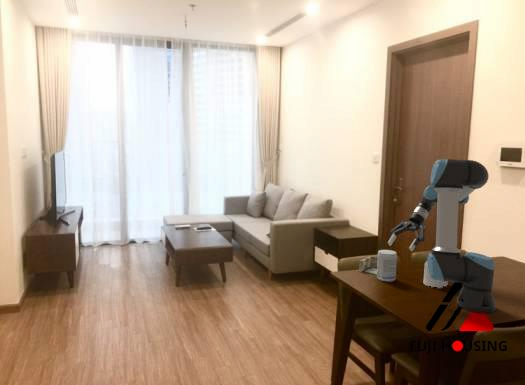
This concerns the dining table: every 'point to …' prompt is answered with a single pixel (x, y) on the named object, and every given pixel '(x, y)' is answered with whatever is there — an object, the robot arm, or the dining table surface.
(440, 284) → the jar
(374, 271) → the mat
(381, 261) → the supplement tub
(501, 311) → the dining table surface
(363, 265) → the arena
